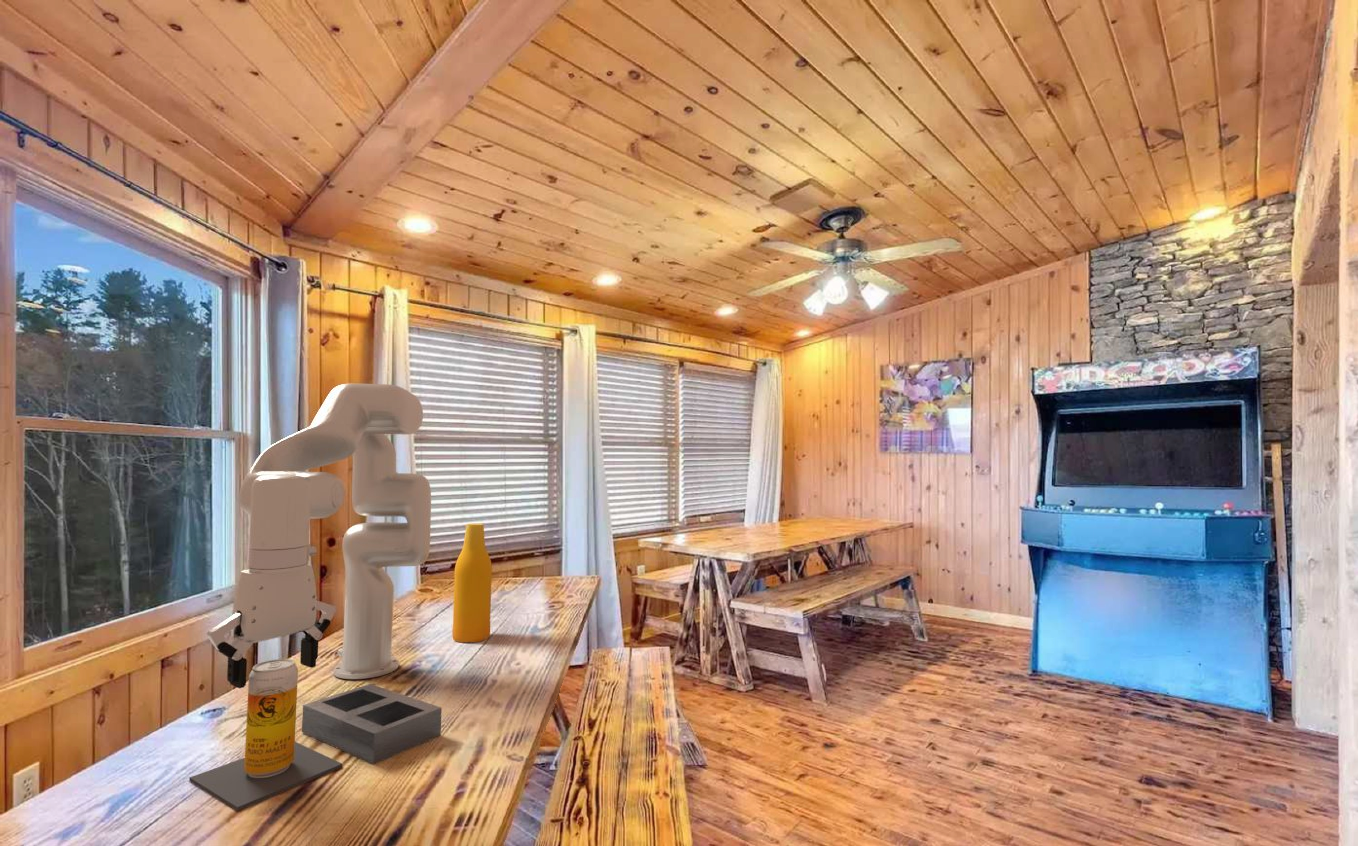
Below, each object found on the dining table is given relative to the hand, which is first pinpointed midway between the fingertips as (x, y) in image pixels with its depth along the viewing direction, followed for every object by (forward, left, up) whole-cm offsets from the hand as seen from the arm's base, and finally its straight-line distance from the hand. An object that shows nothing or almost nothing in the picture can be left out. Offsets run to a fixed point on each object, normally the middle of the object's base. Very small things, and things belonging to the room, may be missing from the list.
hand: (274, 675), depth 93 cm
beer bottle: (-31, +63, -14) cm, 71 cm away
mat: (0, 0, -14) cm, 14 cm away
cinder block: (0, +16, -14) cm, 21 cm away
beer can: (0, 0, -14) cm, 14 cm away
